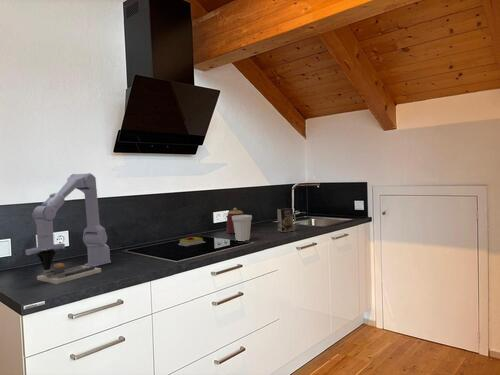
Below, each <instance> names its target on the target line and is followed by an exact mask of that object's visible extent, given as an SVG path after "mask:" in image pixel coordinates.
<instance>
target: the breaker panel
mask: <svg viewBox="0 0 500 375" xmlns="http://www.w3.org/2000/svg"><path fill="white" fill-rule="evenodd" d="M98 273H99V274H100V273H102V268H101V267H97V266H95V267H93V266H87V265H82V264H80V263H78V264H74V265H70V266H67V267H66V266H64V273H60V274H56V275H55V273H54V269H53V270H51V269H49V270H43V271H42V274H41V275H37V276H36V280H37V281H40V282H45V283H50V284H54V285H57V284H59V285H60V284H61V283H65V282H70V281H72V280H76V279H80V278H84V277H87V276H91V275H94V274H95V275H96V274H98Z"/></svg>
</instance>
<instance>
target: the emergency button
mask: <svg viewBox="0 0 500 375" xmlns="http://www.w3.org/2000/svg"><path fill="white" fill-rule="evenodd" d="M203 243H204V244H205V243H206V241H204V239H203V237H196V236H187V237H186V238H181V239H179V243H178V244H177V245H179V246H182V247H183V246H184V247H189V246H194V245H195V246H196V245H199V244H203Z"/></svg>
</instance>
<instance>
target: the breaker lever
mask: <svg viewBox="0 0 500 375" xmlns="http://www.w3.org/2000/svg"><path fill="white" fill-rule="evenodd" d="M53 267H54V269H53V270H54V273H55V275H56V274H60V273H64V268H65V263H63V262H58V263H54V264H53Z"/></svg>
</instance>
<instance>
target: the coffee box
mask: <svg viewBox="0 0 500 375" xmlns="http://www.w3.org/2000/svg"><path fill="white" fill-rule="evenodd" d="M276 210H277V213H276V214H277V232H278V231H281V232H286V231H293V232H294V212H293V211H294V209H293V208H277V209H276Z"/></svg>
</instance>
